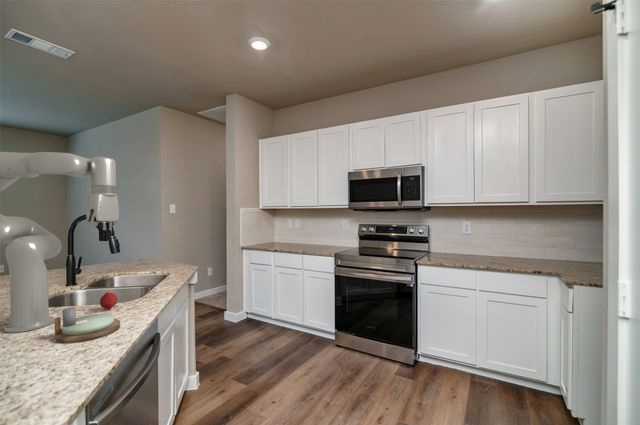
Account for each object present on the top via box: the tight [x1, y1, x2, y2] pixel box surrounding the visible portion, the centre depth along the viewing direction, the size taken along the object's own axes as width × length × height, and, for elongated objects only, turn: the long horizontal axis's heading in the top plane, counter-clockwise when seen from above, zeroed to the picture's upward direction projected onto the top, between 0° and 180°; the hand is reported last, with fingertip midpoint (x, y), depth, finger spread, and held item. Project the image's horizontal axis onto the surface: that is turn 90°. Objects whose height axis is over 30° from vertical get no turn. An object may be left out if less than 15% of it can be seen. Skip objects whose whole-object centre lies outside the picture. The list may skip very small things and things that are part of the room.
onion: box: [99, 289, 118, 311], centre depth 121 cm, size 6×6×8 cm
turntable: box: [61, 307, 115, 335], centre depth 98 cm, size 14×14×7 cm
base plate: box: [54, 316, 121, 344], centre depth 98 cm, size 17×17×6 cm
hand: (104, 240), depth 110 cm, fingers closed
